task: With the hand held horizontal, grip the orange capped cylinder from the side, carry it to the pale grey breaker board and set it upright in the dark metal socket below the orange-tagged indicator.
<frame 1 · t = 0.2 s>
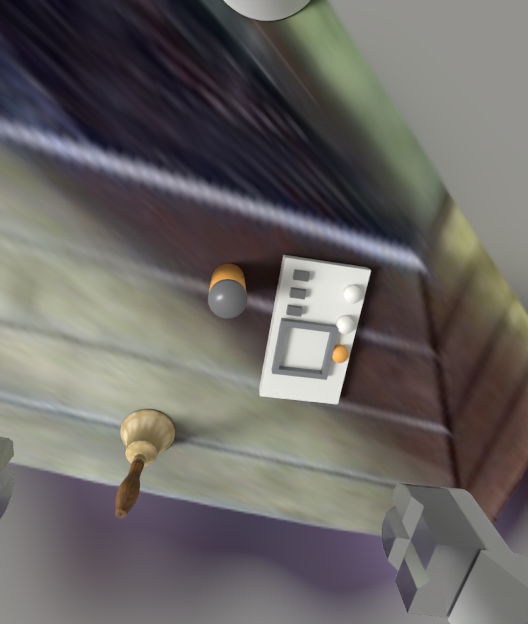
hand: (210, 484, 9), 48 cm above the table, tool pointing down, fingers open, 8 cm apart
orange capped cylinder: (228, 279, 56), on the table
breaker board: (310, 330, 59), on the table
hand bell: (148, 431, 63), on the table
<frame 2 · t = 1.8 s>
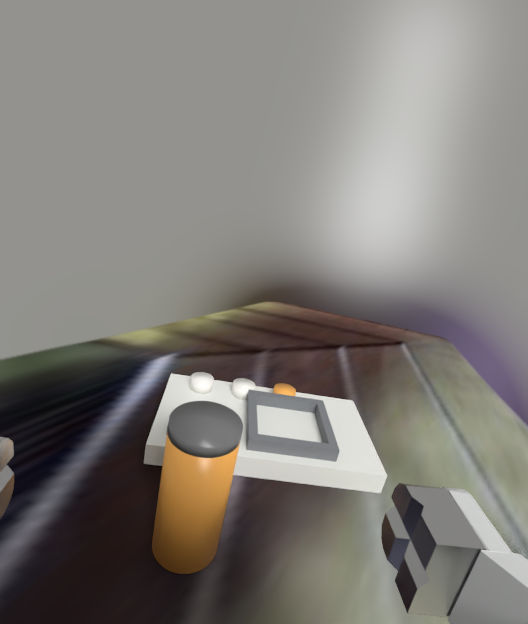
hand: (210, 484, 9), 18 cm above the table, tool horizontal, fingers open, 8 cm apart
orange capped cylinder: (185, 542, 28), on the table
breaker board: (263, 435, 41), on the table
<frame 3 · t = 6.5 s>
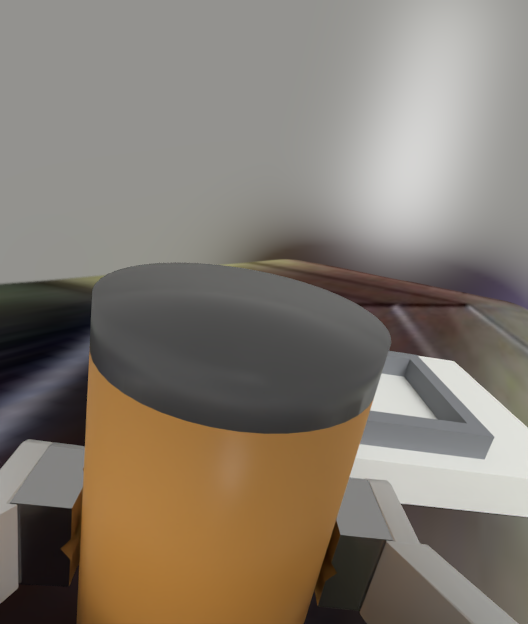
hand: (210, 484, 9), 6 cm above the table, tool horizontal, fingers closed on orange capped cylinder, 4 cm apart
breaker board: (320, 414, 22), on the table
when the fingers open (8 cm above the table, at t = 11.0 s): orange capped cylinder stays where it is, resting on breaker board.
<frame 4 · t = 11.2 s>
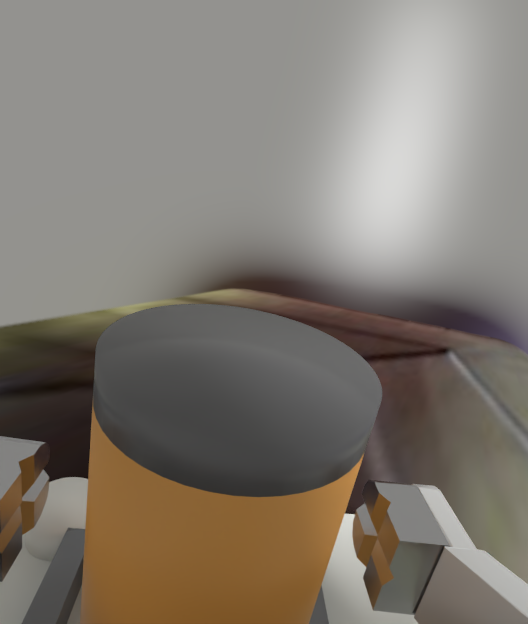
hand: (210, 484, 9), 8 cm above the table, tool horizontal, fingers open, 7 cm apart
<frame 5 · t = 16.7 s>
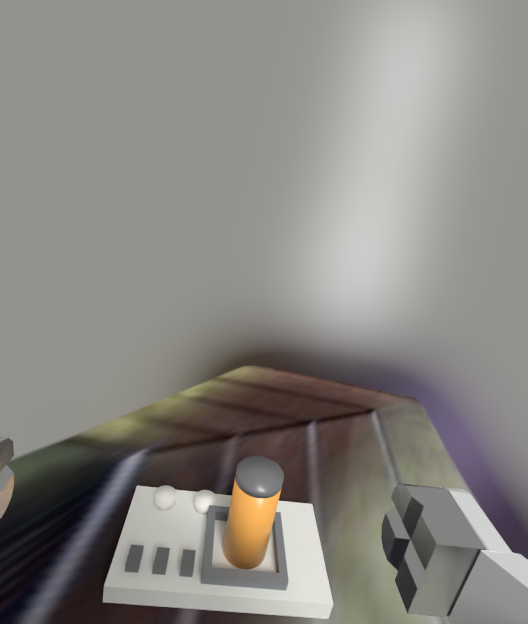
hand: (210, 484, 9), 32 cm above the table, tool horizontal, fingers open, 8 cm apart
orange capped cylinder: (244, 548, 41), point 2 cm above the table, touching breaker board
breaker board: (221, 552, 43), on the table
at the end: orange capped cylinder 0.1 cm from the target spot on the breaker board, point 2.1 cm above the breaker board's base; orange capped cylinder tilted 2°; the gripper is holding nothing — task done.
